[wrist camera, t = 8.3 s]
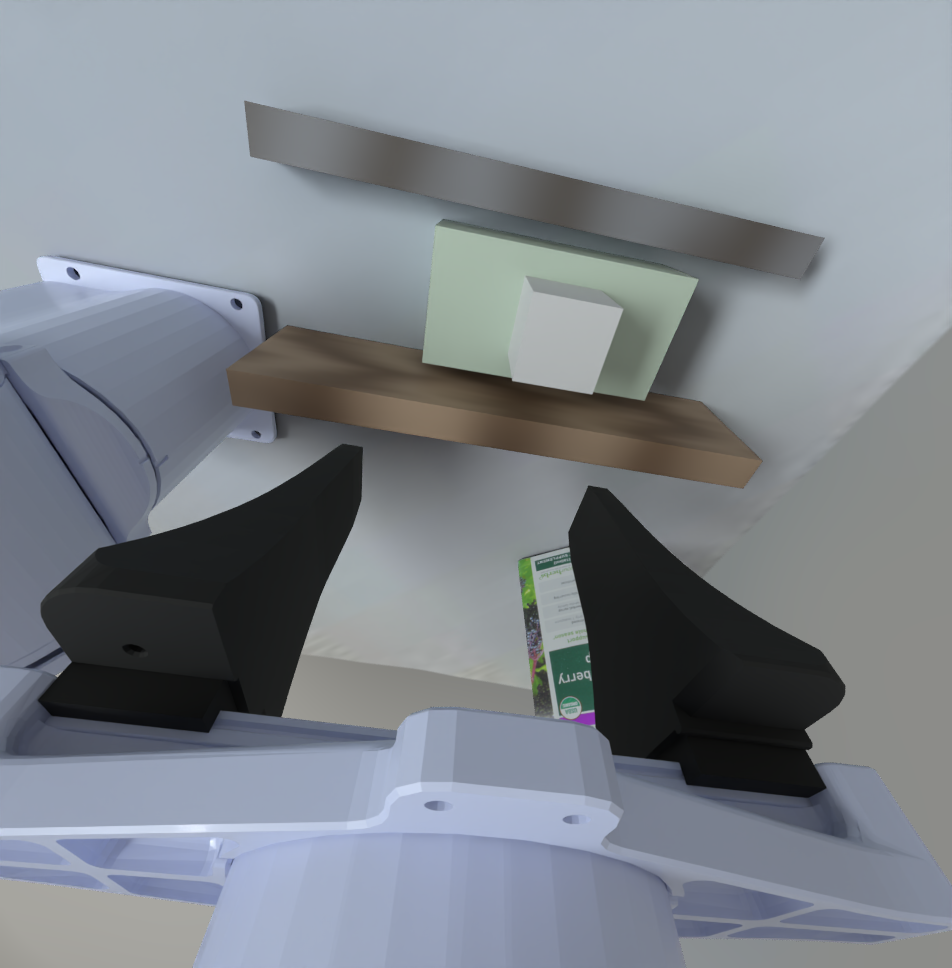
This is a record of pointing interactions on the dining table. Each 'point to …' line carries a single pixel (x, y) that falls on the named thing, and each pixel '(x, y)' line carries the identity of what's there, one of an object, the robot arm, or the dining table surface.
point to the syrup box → (556, 638)
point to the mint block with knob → (550, 311)
